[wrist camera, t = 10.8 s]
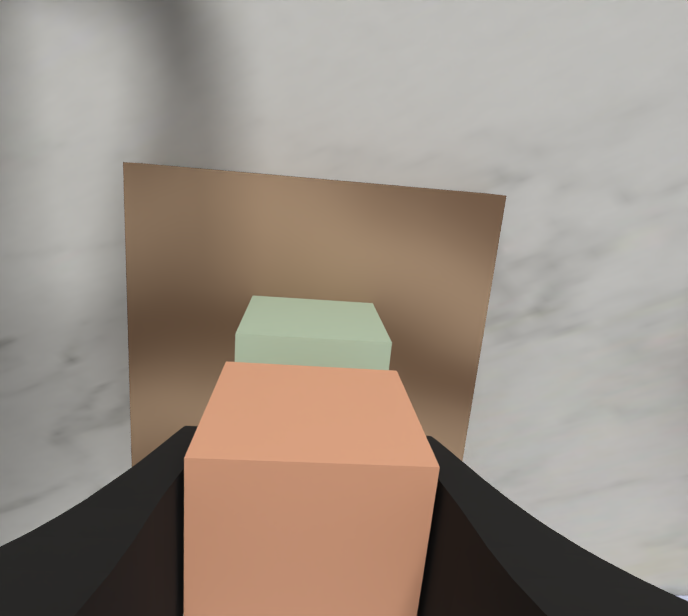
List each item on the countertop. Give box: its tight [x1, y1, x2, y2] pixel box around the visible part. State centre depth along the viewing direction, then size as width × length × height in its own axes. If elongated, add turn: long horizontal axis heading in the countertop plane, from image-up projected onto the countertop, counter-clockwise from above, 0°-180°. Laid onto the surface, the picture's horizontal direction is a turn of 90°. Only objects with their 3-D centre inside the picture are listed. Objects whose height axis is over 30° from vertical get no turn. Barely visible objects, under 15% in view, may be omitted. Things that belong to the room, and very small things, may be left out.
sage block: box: [235, 296, 392, 370], centre depth 15 cm, size 4×4×4 cm
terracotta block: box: [184, 361, 440, 616], centre depth 10 cm, size 4×4×4 cm
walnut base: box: [123, 162, 506, 467], centre depth 18 cm, size 12×12×2 cm
